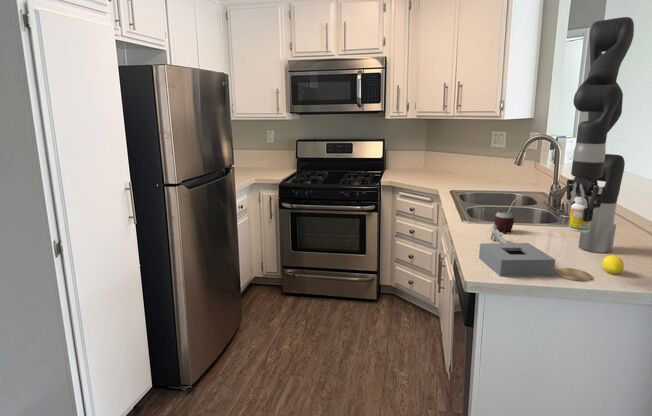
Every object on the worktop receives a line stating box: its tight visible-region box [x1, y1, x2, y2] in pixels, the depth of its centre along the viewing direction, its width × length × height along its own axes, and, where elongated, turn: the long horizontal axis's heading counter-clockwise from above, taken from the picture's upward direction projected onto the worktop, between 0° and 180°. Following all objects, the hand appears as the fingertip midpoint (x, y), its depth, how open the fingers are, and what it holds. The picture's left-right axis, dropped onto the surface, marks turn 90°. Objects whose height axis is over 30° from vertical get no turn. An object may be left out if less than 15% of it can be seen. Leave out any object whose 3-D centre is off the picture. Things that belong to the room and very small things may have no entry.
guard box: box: [478, 242, 556, 277], centre depth 133 cm, size 16×16×5 cm
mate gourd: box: [494, 197, 521, 235], centre depth 170 cm, size 8×8×15 cm
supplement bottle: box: [568, 196, 591, 233], centre depth 123 cm, size 5×5×10 cm
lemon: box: [601, 254, 625, 275], centre depth 129 cm, size 7×5×5 cm
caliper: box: [490, 224, 509, 243], centre depth 152 cm, size 20×1×6 cm, turn 2°
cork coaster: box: [555, 267, 592, 282], centre depth 127 cm, size 9×9×1 cm
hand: (580, 218), depth 123 cm, fingers closed on supplement bottle, 5 cm apart
